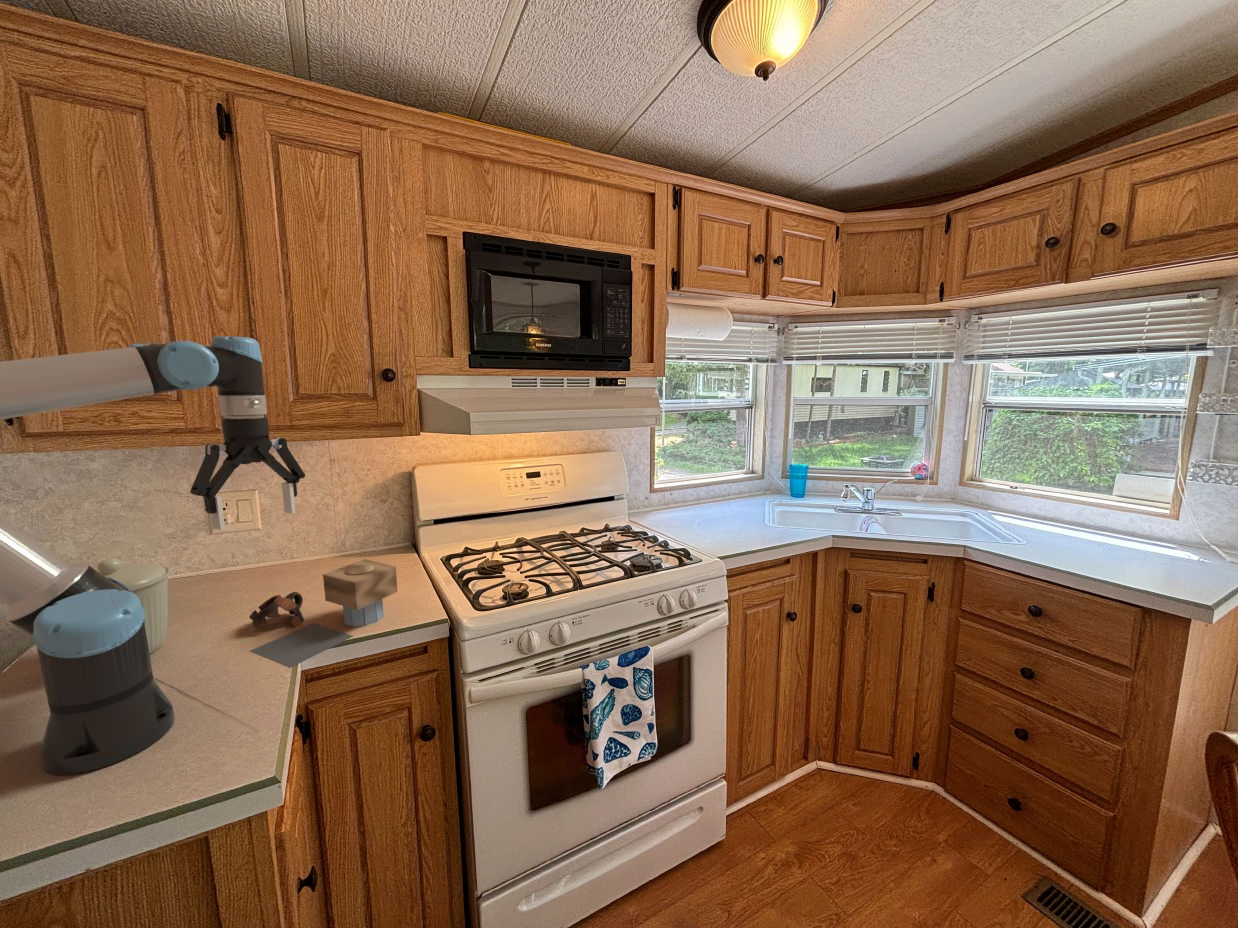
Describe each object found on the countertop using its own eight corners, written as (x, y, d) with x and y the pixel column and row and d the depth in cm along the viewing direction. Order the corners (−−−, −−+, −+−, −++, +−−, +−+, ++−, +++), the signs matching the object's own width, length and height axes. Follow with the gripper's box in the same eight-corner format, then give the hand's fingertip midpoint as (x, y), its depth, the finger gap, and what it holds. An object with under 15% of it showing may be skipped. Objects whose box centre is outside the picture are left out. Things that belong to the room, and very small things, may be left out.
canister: (169, 663, 103) (154, 565, 100) (43, 690, 95) (21, 583, 91) (190, 626, 119) (177, 539, 115) (83, 645, 110) (66, 552, 107)
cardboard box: (357, 609, 114) (354, 581, 113) (325, 600, 119) (322, 573, 118) (397, 591, 124) (395, 565, 123) (366, 583, 129) (364, 558, 128)
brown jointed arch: (292, 637, 115) (266, 611, 112) (261, 650, 117) (235, 625, 114) (322, 602, 126) (299, 577, 123) (293, 615, 128) (270, 591, 125)
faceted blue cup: (361, 630, 117) (359, 606, 116) (336, 622, 121) (333, 599, 120) (391, 615, 125) (389, 592, 124) (367, 608, 128) (365, 586, 127)
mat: (290, 669, 102) (290, 667, 102) (249, 652, 108) (249, 650, 108) (353, 637, 114) (353, 635, 114) (313, 624, 120) (313, 622, 120)
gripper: (179, 422, 88) (195, 539, 92) (317, 413, 110) (326, 508, 114) (157, 420, 92) (173, 533, 95) (295, 412, 114) (304, 504, 117)
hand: (256, 520), depth 105 cm, fingers open, 13 cm apart
